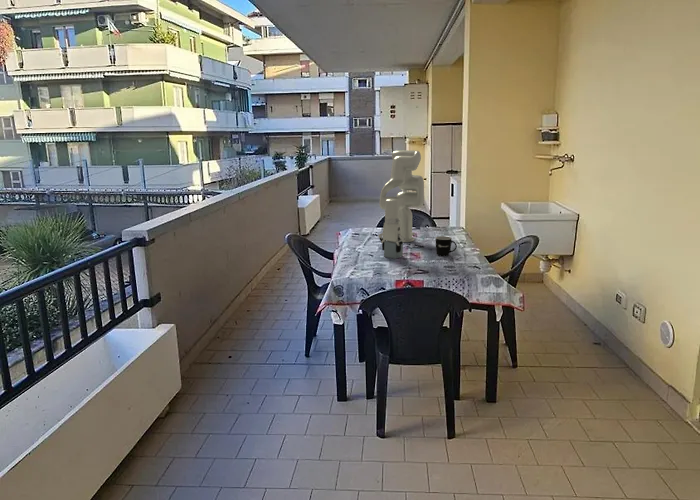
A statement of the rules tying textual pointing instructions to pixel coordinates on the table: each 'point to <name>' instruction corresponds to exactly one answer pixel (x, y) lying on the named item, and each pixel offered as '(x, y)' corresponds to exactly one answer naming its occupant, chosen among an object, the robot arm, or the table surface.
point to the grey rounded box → (392, 250)
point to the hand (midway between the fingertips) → (391, 250)
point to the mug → (444, 245)
